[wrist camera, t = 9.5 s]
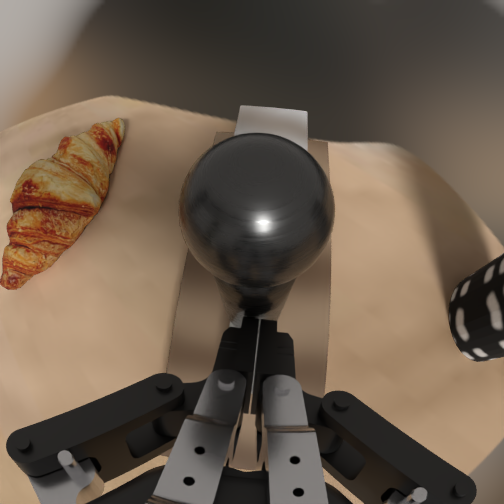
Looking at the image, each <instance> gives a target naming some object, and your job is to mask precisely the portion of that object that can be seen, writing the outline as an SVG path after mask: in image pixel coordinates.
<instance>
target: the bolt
mask: <svg viewBox="0 0 504 504" xmlns="http://www.w3.org/2000/svg"><path fill="white" fill-rule="evenodd" d="M334 218H335V203H334V196H333V191H332V188H331V185H330V182H329V180H328V178H327V175H326V173H325V172H324V170H323V168H322V167H321V165H320V164H319V163H318V162H317V160H316V159H315V158H314V157H313V156H312V155H311V154H310V153H309V152H308V151H307V150H305V149H304V148H303V147H301V146H300V145H298V144H296V143H295V142H293V141H291V140H289V139H287V138H284V137H281V136H278V135H274V134H269V133H245V134H239V135H235V136H232V137H230V138H227V139H225V140H223V141H221V142H219V143H217V144H215V145H214V146H212V147H211V148H209V149H208V150H207V151H206V152H205V153H204V154H203V155H202V156H201V157H200V158H199V159H198V160H197V161H196V162H195V163H194V165H193V166H192V168H191V169H190V171H189V173H188V175H187V177H186V179H185V181H184V184H183V186H182V190H181V194H180V199H179V221H180V227H181V230H182V234H183V237H184V240H185V242H186V244H187V246H188V248H189V250H190V251H191V253H192V254H193V256H194V257H195V259H196V260H197V261H198V262H199V263H200V264H201V265H202V266H203V267H204V268H205V269H206V270H208V271H209V272H210V273H211V274H213V277H214V280H215V283H216V286H217V288H218V291H219V294H220V297H221V300H222V303H223V305H224V308H225V311H226V314H227V317H228V319H229V320H230V326H229V327H237V328H241V324H242V319H243V317H248V318H257V319H259V326H258V336H257V345H256V355H255V364H254V374H253V382H252V390H251V394H253V385H254V375H255V365H256V356H257V347H258V339H259V330H260V322H261V319H266V320H276V321H277V320H278V319H279V316H280V314H281V312H282V310H283V307H284V305H285V303H286V300H287V298H288V296H289V294H290V291H291V289H292V287H293V284H294V282H295V280H296V277H298V276H299V275H301V274H302V273H304V272H305V271H306V270H308V269H309V268H310V267H311V266H312V265H313V264H314V263H315V262H316V261H317V259H318V258H319V257H320V255H321V254H322V253H323V251H324V249H325V247H326V246H327V244H328V241H329V239H330V236H331V233H332V230H333V225H334Z"/></svg>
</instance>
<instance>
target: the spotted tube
mask: <svg viewBox="0 0 504 504" xmlns="http://www.w3.org/2000/svg"><path fill="white" fill-rule="evenodd" d="M449 322H450V328H451V332H452V336H453V338H454V341H455V343H456V345H457V346H458V348H459V349H460V351H461V352H462V353H463V354H464V355H465V356H466V357H467V358H469V359H471V360H473V361H477V362H480V361H487V360H492V359H496V358H500V357H504V253H503V254H502V255H500V256H499V257H497V258H496V259H494V260H493V261H491V262H490V263H488V264H487V265H485V266H484V267H482V268H481V269H479V270H478V271H476V272H475V273H473V274H472V275H470V276H468V277H467V278H465V279H464V280H462V281H461V282H460V283H459V284H458V285H457V287H456V288H455V290H454V292H453V294H452V297H451V301H450V307H449Z"/></svg>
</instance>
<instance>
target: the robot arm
mask: <svg viewBox="0 0 504 504" xmlns="http://www.w3.org/2000/svg"><path fill="white" fill-rule="evenodd" d="M258 326H259V319H257V318H248V317H243V319H242V324H241V328H237V327H229V328H228V329H227V330H225V331H224V332H223V335H222V338H221V342H220V345H219V349H218V353H217V356H216V360H215V364H214V367H213V371H212V373H211V374H210V375H209V376H208V377H207V378H206V379H204V380H202V381H198V382H192V383H183V382H182V380H181V379H180V378H179V377H177V376H175V375H173V374H169V373H159V374H155V375H153V376H151V377H148V378H146V379H144V380H142V381H140V382H137V383H135V384H133V385H131V386H128V387H126V388H124V389H121V390H119V391H117V392H114V393H112V394H110V395H107V396H105V397H103V398H100V399H98V400H95V401H93V402H91V403H88V404H86V405H83V406H81V407H78V408H76V409H73V410H71V411H68V412H65V413H63V414H60V415H58V416H55V417H52V418H50V419H47V420H44V421H41V422H39V423H36V424H33V425H30V426H27V427H24V428H21V429H19V430H16V431H14V432H13V433H12V434H11V435H10V436H9V438H8V440H7V443H6V448H7V452H8V454H9V456H10V457H11V458H12V459H13V460H14V462H15V463H16V464H17V465H18V466H19V467H20V469H21V470H22V471H23V472H24V473H25V474H26V475H27V476H28V477H29V479H30V482H31V484H32V486H33V488H34V490H35V492H36V494H37V497H38V499H39V501H40V503H41V504H353V503H352V502H351V501H349V500H348V499H347V498H346V497H345V496H344V495H343V494H342V493H341V492H340V491H339V490H337V489H336V488H334V487H333V486H332V485H330V484H328V483H326V482H325V481H324V475H323V469H322V467H323V468H324V469H325V470H326V471H327V472H328V473H330V474H331V475H332V476H333V477H334V478H335V479H336V480H337V481H339V482H340V483H341V484H342V485H343V486H344V487H345V488H347V489H348V490H349V491H350V492H351V493H352V494H354V495H355V496H356V497H357V498H358V499H360V500H361V501H362V502H363V503H364V504H471V503H472V502H473V500H474V499H475V497H476V485H475V483H474V481H473V480H472V479H471V478H470V477H469V476H467V475H466V474H464V473H463V472H461V471H459V470H458V469H456V468H455V467H453V466H452V465H450V464H449V463H447V462H446V461H444V460H443V459H441V458H440V457H438V456H437V455H435V454H434V453H432V452H431V451H429V450H428V449H427V448H425V447H424V446H422V445H421V444H419V443H418V442H416V441H415V440H414V439H412V438H411V437H409V436H408V435H406V434H405V433H404V432H402V431H401V430H399V429H398V428H397V427H395V426H394V425H393V424H391V423H390V422H388V421H387V420H386V419H384V418H383V417H382V416H380V415H379V414H377V413H376V412H375V411H373V410H372V409H371V408H369V407H368V406H367V405H365V404H364V403H363V402H361V401H360V400H359V399H357V398H356V397H355V396H353V395H352V394H350V393H348V392H344V391H332V392H329V393H327V394H326V395H325V396H324V397H323V398H321V397H317V396H314V395H311V394H308V393H306V392H305V391H303V390H302V388H301V385H300V383H299V382H298V381H297V380H296V374H295V357H294V343H293V339H292V338H291V336H290V335H289V333H284V332H277V321H276V320H266V319H261V322H260V330H259V339H258V347H257V356H256V365H255V375H254V385H253V394H252V403H251V413H250V414H253V415H256V416H255V427H256V430H255V449H256V471H252V472H243V471H240V470H237V469H234V468H232V467H233V462H234V458H235V454H236V450H237V446H238V442H239V438H240V433H241V428H242V420H243V413H245V414H248V413H249V405H250V398H251V390H252V382H253V374H254V364H255V355H256V345H257V336H258ZM171 448H173V449H172V451H171V453H170V456H169V458H168V460H167V463H166V465H162V466H159V467H156V468H153V469H151V470H148V471H146V472H145V473H143V474H141V475H139V476H138V477H136V478H134V479H132V480H131V481H129V482H127V483H125V484H123V485H121V486H120V487H118V488H116V489H114V490H112V491H110V492H108V493H106V494H104V495H102V493H103V491H104V483H105V482H107V481H110V480H112V479H114V478H116V477H118V476H120V475H122V474H124V473H126V472H128V471H130V470H132V469H134V468H136V467H138V466H140V465H142V464H144V463H146V462H147V461H149V460H151V459H153V458H155V457H157V456H159V455H160V454H162V453H164V452H166V451H167V450H169V449H171ZM101 495H102V496H101Z"/></svg>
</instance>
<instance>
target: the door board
mask: <svg viewBox="0 0 504 504" xmlns="http://www.w3.org/2000/svg"><path fill="white" fill-rule="evenodd" d="M245 133H269V134H274V135H278V136H281V137H284V138H287V139H289V140H291V141H293V142H295V143H296V144H298V145H300V146H301V147H303V148H304V149H305V150H307V151H308V152H309V153H310V154H311V155H312V156H313V157H314V158H315V159H316V160H317V162H318V163H319V164H320V165H321V167H322V168H323V170H324V172H325V173H326V175H327V178H328V180H329V182H330V176H329V157H328V142H321V141H314V140H308V135H307V134H308V133H307V111H299V110H290V109H280V108H270V107H256V106H241V107H240V111H239V115H238V120H237V124H236V129H235V133H229V132H216V136H215V139H214V143H213V146H214V145H215V144H217V143H219V142H221V141H223V140H225V139H227V138H230V137H232V136H235V135H239V134H245ZM330 294H331V236H330V239H329V241H328V244H327V246H326V247H325V249H324V251H323V253H322V254H321V255H320V257H319V258H318V259H317V261H316V262H315V263H314V264H313V265H312V266H311V267H310V268H309V269H308V270H306V271H305V272H304V273H302V274H301V275H299V276H298V277H296V280H295V282H294V284H293V287H292V289H291V291H290V294H289V296H288V298H287V300H286V303H285V305H284V307H283V310H282V312H281V314H280V316H279V319H278V320H277V332H284V333H289V335H290V336H291V338H292V339H293V343H294V357H295V374H296V380H297V381H298V382H299V383H300V385H301V388H302V390H303V391H305V392H306V393H308V394H311V395H314V396H317V397H321V398H323V397H324V393H325V382H326V369H327V356H328V340H329V321H330ZM229 326H230V320H229V319H228V317H227V314H226V311H225V308H224V305H223V303H222V300H221V297H220V294H219V291H218V288H217V286H216V283H215V280H214V277H213V274H211V273H210V272H209V271H208V270H206V269H205V268H204V267H203V266H202V265H201V264H200V263H199V262H198V261H197V260H196V259H195V257H194V256H193V254H192V253H191V251H190V250H189V248H188V253H187V258H186V263H185V268H184V273H183V278H182V283H181V289H180V294H179V300H178V305H177V311H176V316H175V322H174V328H173V334H172V341H171V347H170V353H169V360H168V367H167V373H169V374H173V375H175V376H177V377H179V378H180V379H181V380H182V382H183V383H192V382H198V381H202V380H204V379H206V378H207V377H208V376H209V375H210V374H211V373H212V371H213V367H214V364H215V360H216V356H217V353H218V349H219V345H220V342H221V338H222V335H223V332H224V331H225V330H227V329H228V328H229ZM251 403H252V394H251V398H250V405H249V413H248V414H245V413H243V420H242V428H241V433H240V438H239V442H238V446H237V450H236V454H235V458H234V462H233V467H232V468H236V469H246V470H256V449H255V430H256V427H255V416H256V415H253V414H250V413H251ZM172 449H173V448H171V449H169V450H167V451H166V452H164V453H162V454H160V455H162V456H167V457H169V456H170V453H171V451H172Z"/></svg>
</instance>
